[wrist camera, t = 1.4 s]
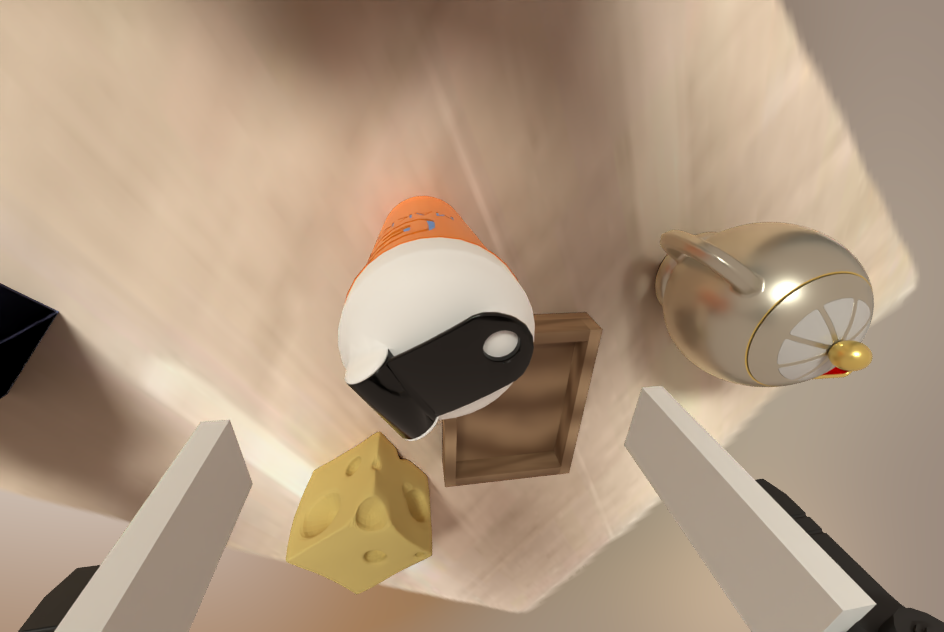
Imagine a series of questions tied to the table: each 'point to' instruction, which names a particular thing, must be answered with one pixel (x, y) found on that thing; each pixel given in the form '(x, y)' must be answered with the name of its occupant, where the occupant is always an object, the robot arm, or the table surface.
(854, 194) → the table surface
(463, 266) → the shaker bottle
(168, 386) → the table surface
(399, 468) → the cheese
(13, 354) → the vase
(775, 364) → the teapot
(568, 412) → the tray
